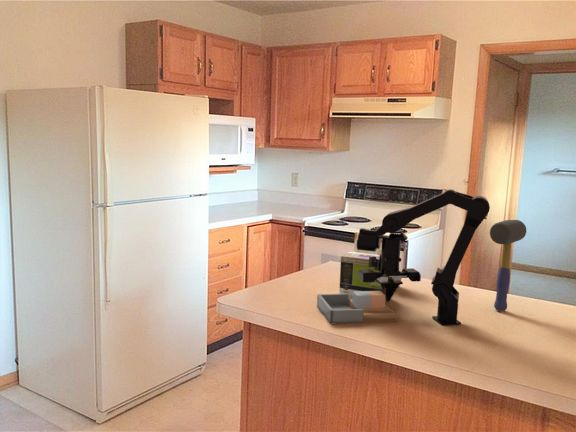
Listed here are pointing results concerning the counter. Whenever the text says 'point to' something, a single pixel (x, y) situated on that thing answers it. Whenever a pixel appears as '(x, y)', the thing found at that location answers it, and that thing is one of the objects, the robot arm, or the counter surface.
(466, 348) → the counter surface
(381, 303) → the peach cube
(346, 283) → the tea box
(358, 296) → the gray cube
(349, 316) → the tray
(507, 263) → the rubber mallet
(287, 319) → the counter surface
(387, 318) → the board
